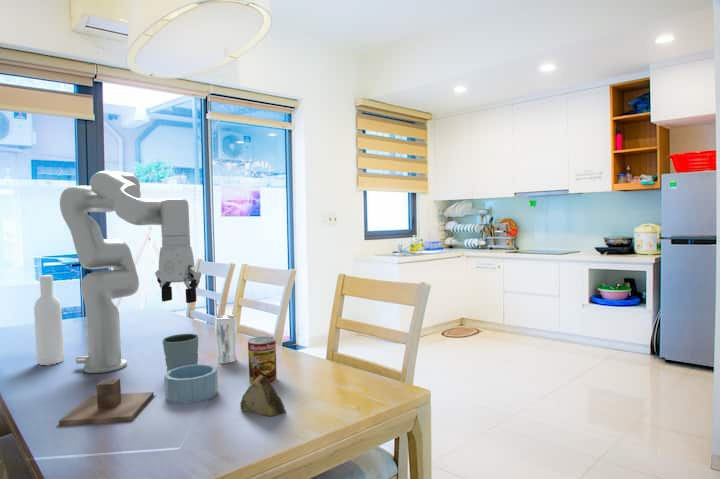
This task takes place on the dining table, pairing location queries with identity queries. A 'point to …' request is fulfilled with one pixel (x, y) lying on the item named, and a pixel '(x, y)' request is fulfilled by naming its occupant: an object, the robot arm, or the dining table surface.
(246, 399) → the rock
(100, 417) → the lid
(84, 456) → the dining table surface
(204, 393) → the bowl
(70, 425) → the board
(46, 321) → the bottle
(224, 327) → the beer glass
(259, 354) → the canned food
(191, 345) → the drinking glass
